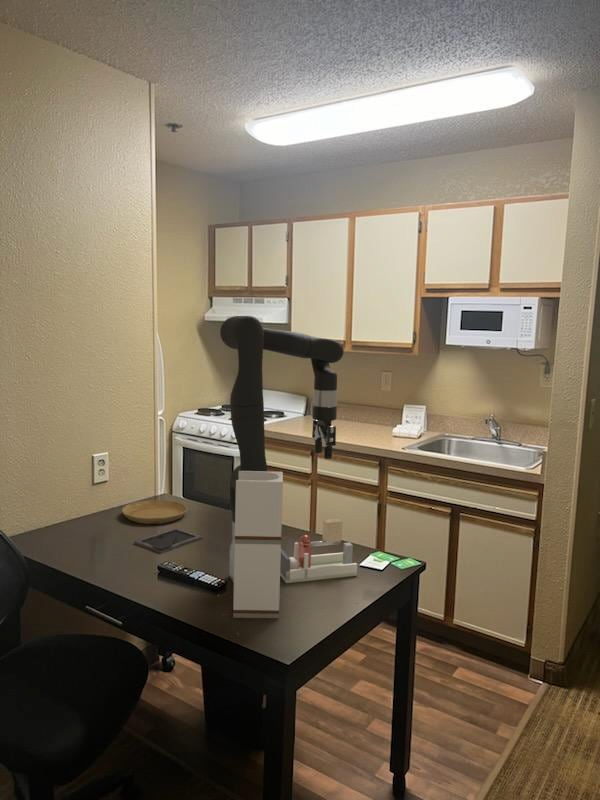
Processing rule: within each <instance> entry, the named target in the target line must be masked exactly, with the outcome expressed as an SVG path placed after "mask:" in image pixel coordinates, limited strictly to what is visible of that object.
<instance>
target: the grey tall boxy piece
mask: <svg viewBox="0 0 600 800" xmlns="http://www.w3.org/2000/svg"><path fill="white" fill-rule="evenodd" d="M283 473H284V472H283V471H270V470H269V471H239V479H238V480H236V505H235V554H234V583H233V609H232V611H233V612H232V613H233V614H232V618H235V619H236V618H237V619H238V618H241V619H242V618H243V619H279V618H280V596H281V595H280V593H281V592H280V591H281V590H280V589H281V588H280V587H281V576H280V561H281V549H282V522H283V521H282V520H283V491H284V490H283V488H284V485H283V484H284V474H283Z"/></svg>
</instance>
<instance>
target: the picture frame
mask: <svg viewBox="0 0 600 800" xmlns="http://www.w3.org/2000/svg"><path fill="white" fill-rule="evenodd" d="M201 540H203V536H202V535H200V534H197V533H193V532H192V531H191V532H190V531H188V530H187V531H186V530H183V529H181V528H178V527H174V528H171V529H167V530H165V531H161V532H157V533H155V534H151V535H150V536H149V535H148V536H145V537H142V538H140V539H136V540H134V541H133V542H134V545H136V546H139V547H142V548H145V549H147V550H149V551H153V552H154V553H157V554H164V553H167V552H170V551H173V550H176V549H178V548H181V547H183V546H187V545H190V544H193V543H195V542H198V541H201Z"/></svg>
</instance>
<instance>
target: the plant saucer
mask: <svg viewBox="0 0 600 800" xmlns="http://www.w3.org/2000/svg"><path fill="white" fill-rule="evenodd" d="M121 511H122V514H123V515H124V516H125V518H127V519H128V520H129V521H131V522H134V523H137V524H143V525H158V524H167V523H171V522H175V521H178V520H179V519H181V518H182V517H183V516H184V515H185V514H186V513H187V511H188V506H187V505H186V504H184V503H182V502H178V501H175V500H165V499H164V500H163V499H153V500H152V499H150V500H142V501H135V502H132V503H129V504H127V505H125V506H123V507H122V509H121Z"/></svg>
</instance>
